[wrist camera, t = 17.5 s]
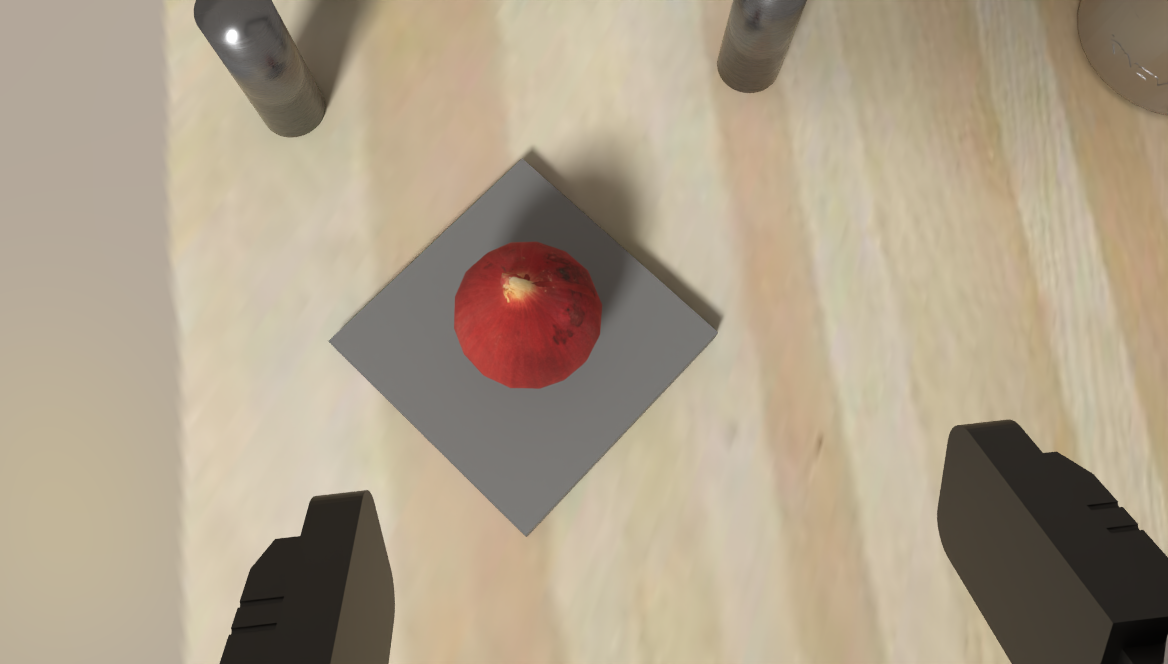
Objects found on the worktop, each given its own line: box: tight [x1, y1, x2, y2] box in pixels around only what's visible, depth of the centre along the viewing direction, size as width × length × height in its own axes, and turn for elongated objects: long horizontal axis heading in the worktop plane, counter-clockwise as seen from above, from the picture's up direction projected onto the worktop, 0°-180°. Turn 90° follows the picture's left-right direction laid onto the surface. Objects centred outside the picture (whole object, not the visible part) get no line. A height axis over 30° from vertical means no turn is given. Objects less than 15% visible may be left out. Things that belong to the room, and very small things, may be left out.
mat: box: [329, 159, 718, 537], centre depth 40 cm, size 12×12×1 cm
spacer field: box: [194, 0, 807, 137], centre depth 41 cm, size 20×22×8 cm
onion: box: [454, 242, 602, 389], centre depth 36 cm, size 6×6×8 cm
